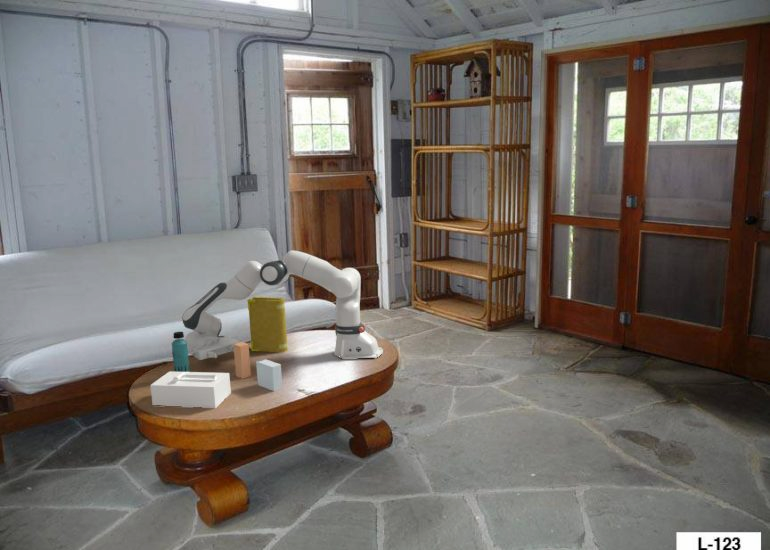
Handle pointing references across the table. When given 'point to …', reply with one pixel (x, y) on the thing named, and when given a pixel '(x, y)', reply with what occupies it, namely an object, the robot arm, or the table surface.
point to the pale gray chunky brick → (269, 374)
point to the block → (242, 359)
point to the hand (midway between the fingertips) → (226, 352)
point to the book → (267, 324)
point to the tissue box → (191, 389)
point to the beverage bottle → (180, 353)
